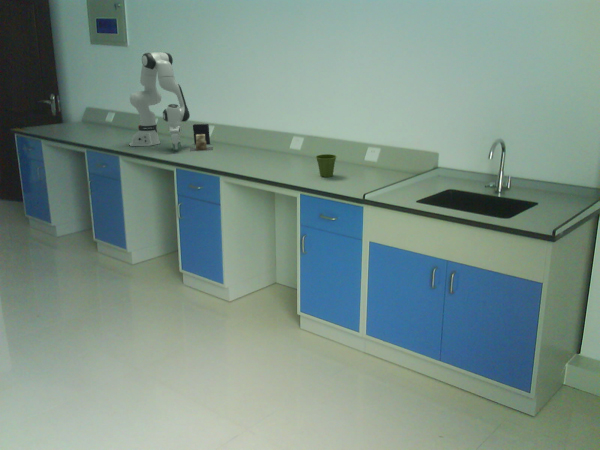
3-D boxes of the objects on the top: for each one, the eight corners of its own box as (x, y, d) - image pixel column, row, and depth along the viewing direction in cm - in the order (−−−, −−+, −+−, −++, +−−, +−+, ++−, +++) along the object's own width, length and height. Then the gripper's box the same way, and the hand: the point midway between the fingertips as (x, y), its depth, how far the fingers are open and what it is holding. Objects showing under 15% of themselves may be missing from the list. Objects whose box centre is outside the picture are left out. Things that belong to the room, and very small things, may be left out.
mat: (189, 152, 417) (189, 151, 417) (190, 148, 429) (190, 148, 428) (212, 150, 419) (212, 150, 419) (213, 147, 430) (213, 147, 430)
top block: (196, 143, 419) (195, 135, 417) (196, 141, 425) (196, 134, 423) (205, 142, 420) (204, 135, 418) (205, 141, 425) (204, 134, 424)
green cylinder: (172, 152, 419) (172, 143, 417) (173, 150, 424) (172, 142, 422) (180, 151, 420) (180, 143, 418) (181, 150, 425) (180, 141, 423)
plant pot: (312, 175, 344) (311, 155, 340) (329, 172, 349) (329, 153, 346) (323, 179, 334) (323, 159, 330) (341, 176, 339) (340, 156, 336)
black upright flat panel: (210, 144, 444) (208, 123, 439) (209, 145, 440) (207, 124, 435) (195, 144, 445) (194, 123, 441) (194, 145, 441) (192, 124, 437)
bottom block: (196, 150, 420) (195, 143, 418) (196, 148, 427) (196, 141, 425) (206, 149, 421) (205, 142, 419) (206, 147, 427) (206, 141, 426)
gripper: (171, 126, 426) (173, 145, 431) (169, 130, 407) (171, 151, 411) (180, 125, 427) (182, 145, 431) (178, 130, 408) (180, 150, 412)
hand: (176, 148), depth 421 cm, fingers closed on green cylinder, 5 cm apart
